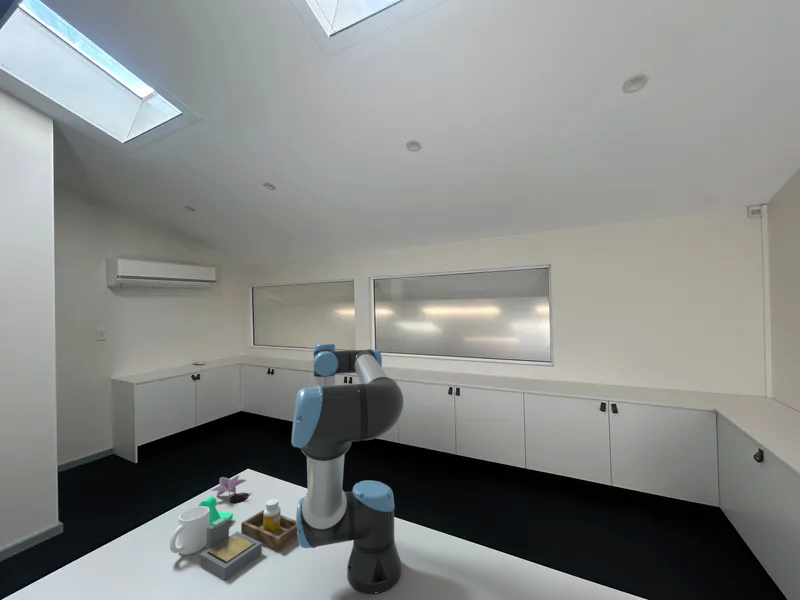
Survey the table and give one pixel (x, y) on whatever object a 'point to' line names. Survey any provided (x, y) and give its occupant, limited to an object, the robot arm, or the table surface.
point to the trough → (269, 540)
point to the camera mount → (214, 510)
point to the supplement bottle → (272, 517)
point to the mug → (191, 531)
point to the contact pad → (231, 549)
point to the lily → (228, 485)
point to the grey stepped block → (219, 535)
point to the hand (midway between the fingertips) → (324, 449)
